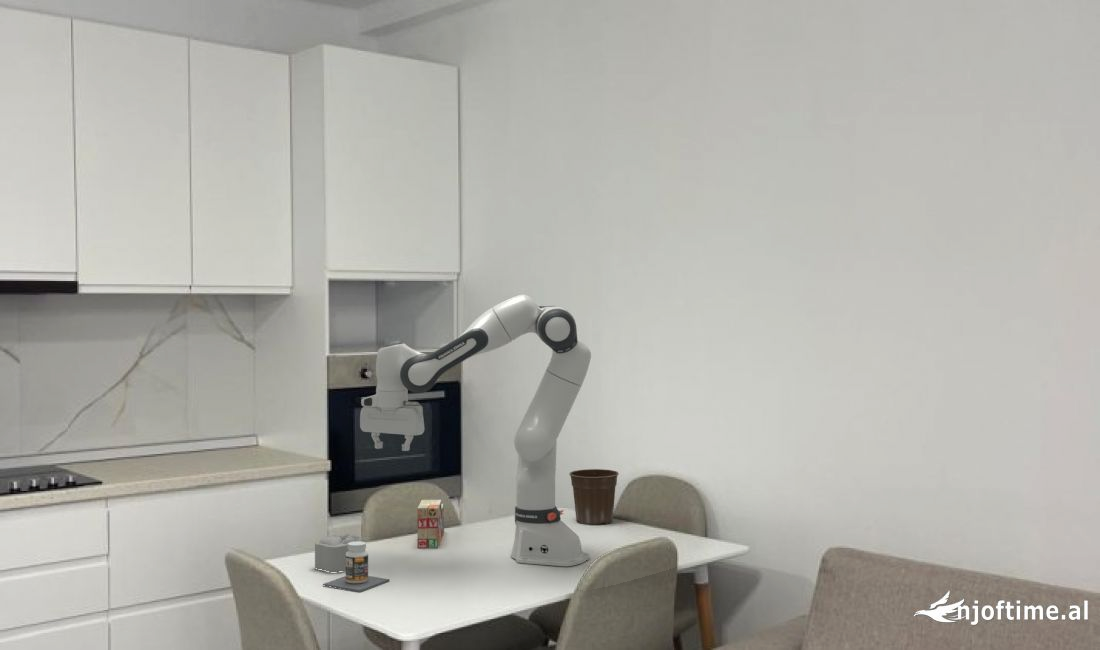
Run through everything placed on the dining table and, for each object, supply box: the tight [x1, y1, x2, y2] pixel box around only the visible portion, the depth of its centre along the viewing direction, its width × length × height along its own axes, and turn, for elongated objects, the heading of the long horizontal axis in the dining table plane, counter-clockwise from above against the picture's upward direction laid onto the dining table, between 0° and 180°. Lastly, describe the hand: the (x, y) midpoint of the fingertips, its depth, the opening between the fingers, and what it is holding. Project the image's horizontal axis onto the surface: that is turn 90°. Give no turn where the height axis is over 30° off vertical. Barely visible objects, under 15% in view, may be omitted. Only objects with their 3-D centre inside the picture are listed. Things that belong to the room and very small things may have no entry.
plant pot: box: [569, 468, 620, 525], centre depth 356 cm, size 16×16×16 cm
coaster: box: [322, 575, 390, 593], centre depth 278 cm, size 12×12×1 cm
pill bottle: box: [345, 541, 369, 584], centre depth 278 cm, size 6×6×10 cm
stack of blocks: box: [416, 499, 445, 549], centre depth 328 cm, size 21×6×12 cm, turn 1°
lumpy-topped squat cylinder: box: [314, 532, 363, 572], centre depth 296 cm, size 10×13×9 cm
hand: (392, 449), depth 304 cm, fingers open, 8 cm apart
